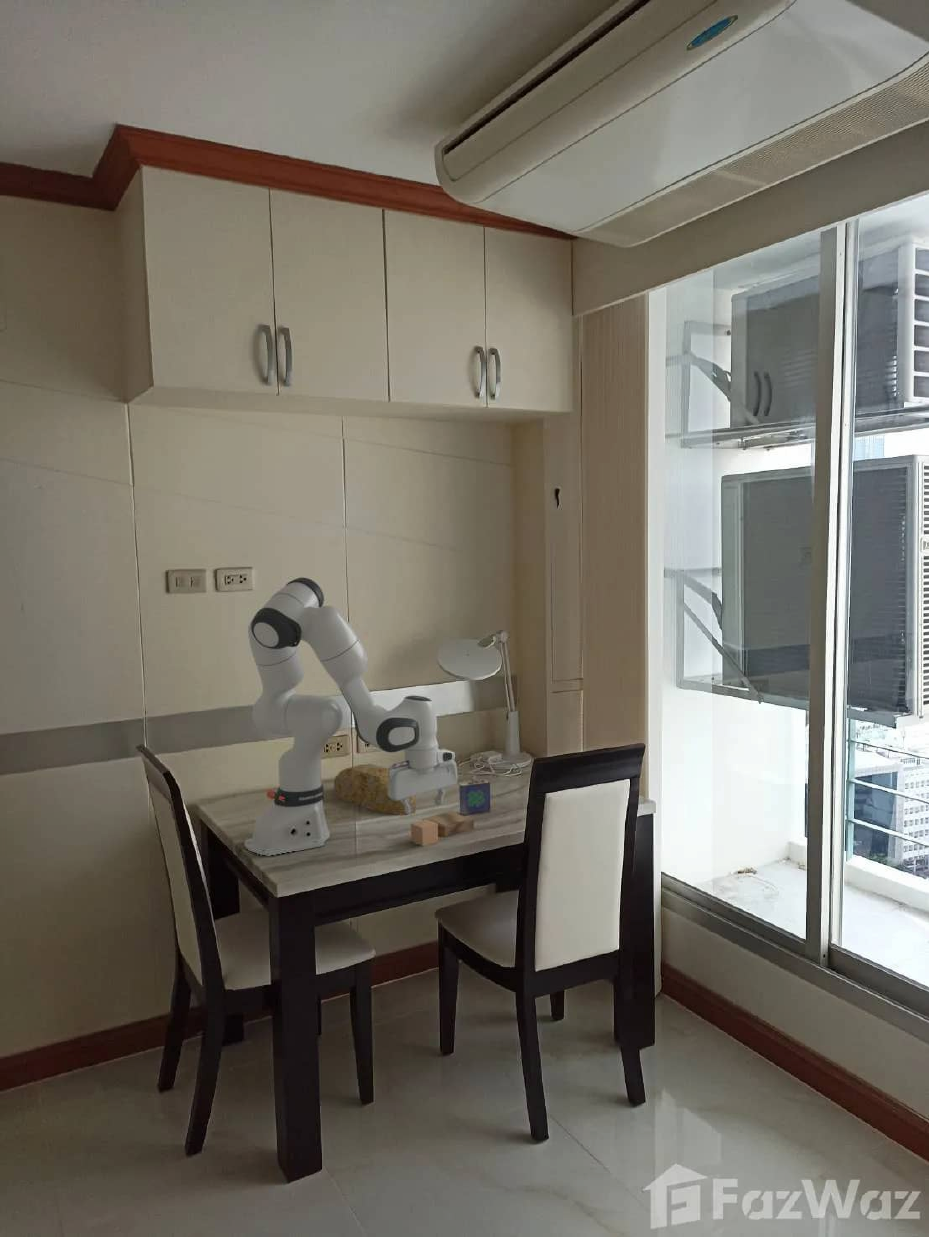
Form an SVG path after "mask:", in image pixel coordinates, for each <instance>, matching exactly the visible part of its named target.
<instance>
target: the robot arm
mask: <svg viewBox="0 0 929 1237" xmlns="http://www.w3.org/2000/svg"><path fill="white" fill-rule="evenodd" d="M324 601H325V595H324V593H323V589H322V588H321V587H320V586H319V584H318V583H316V582H315V581H314V580H313V579H310V578H307V577H298V578H295V579H293V580H290V581H289V582H287V583H286V584H285V586H284V587H281V588H280V589H279V590H278V591H276V592H275V593H274V594H273V595H272V596H271V597H270V599H269V600H268V601H267V602H266V603H265V604H264V605H263V607H262V608H261V609H259V610H258V611H257V612H256V613H255V615H254V617H253V618H252V619H251V621H250V622H249V624H248V627H247V633H248V639H249V645H250V649H251V653H252V657H253V660H254V663H255V665H256V668H257V671H258V674H259V677H260V680H261V681H260V682H261V683H262V685H261V686H262V693H261V695H260V697H258V699H257V700H256V701H255V703H254V705H253V707H252V708H253V709H252V720H253V723H254V724H255V726H256V728H258V729H259V730H261V731H264V732H267V733H270V734H273V735H283V736H292V737H293V740H294V741H293V746H292V748H290V749H288V750H286V751H285V752H283V753H282V755H281V756H280V758H279V760H278V781H279V782H278V783H279V786H278V788H277V790H276V791H273V790H271V789H269V790H267V792H266V794H265V795H266V797H267V798H268V799H271V800H273V799H274V800H273V804H271V805H270V806H269V807H268V808H267V809H266V811H264V812H263V813H262V814H261V816H260V817H258V818H257V819H256V820H255V822H254V824H253V831H252V837H250V838H247V839H245V841H244V848H245V847H246V848H245V849H246V850H247V849H248V850H247V851H249V852H251V851H252V852H251V853H253V852H255V853H257V854H256V855H258V854H260V855H259V856H262V855H266V856H265V857H272V856H271V855H274V856H277V855H276V854H280V855H282V854H281V853H285V854H287V853H286V852H290V853H293V852H292V851H295V852H298V851H299V852H300V851H303V850H309V849H314V848H319V847H323V846H325V842H326V841H327V840H328V839H329V838H330V836H331V834H330V831H329V827H328V825H327V821H326V816H325V809H324V802H325V800H324V799H325V792H324V784H323V783H322V756H323V753H324V749H325V746H326V745H327V742H328V741H329V740H330V738H332V737H333V736H334V735H336V734H337V732H338V731H339V730H340V728H341V726H342V723H343V719H344V717H343V716H344V715H343V709H342V707H341V705H340V703H339V702H338V701H337V700H336V699H333V698H329V697H325V696H323V695H317V694H312V695H311V694H300V693H298V692H297V691H296V690H295V689H296V687H297V686H298V685H300V683H301V682H302V680H303V678H304V674H305V667H304V665H303V662H302V658H301V656H300V653H299V650H298V645H300V643H301V641H303V642H305V643H307V644H308V645H309V646H310V648H312V650H313V652H314V655H315V656H316V658H317V660H318V662H320V664H321V665H322V667H323V668H324V670H325V671H326V673H327V674H328V675H329V677H330V678H331V679H332V680H333V681H334V683H335V684H336V686H338V688H339V691H340V692H341V694H342V697H344V700H345V701H346V703H347V705H348V707H349V709H350V710H351V713H352V716H353V721H354V728H355V733H356V735H357V737H358V738H359V739H360V740H361V741H362V742H364V743H365V744H368V745H372V746H373V747H375V748H376V749H377V748H378V749H379V750H381V751H383V752H387V753H398V752H400V751H403V752H404V761H401V762H397V763H394V764H392V765H391V766H390V767H389V768H388V769H389V770H388V790H387V793H388V796H389V797H390V798H391V799H393V800H396V801H398V800H400V801H401V802H402V804H403V805H404V806H405V813H407V814H409V815H411V814H410V813H413V806H411V805H409V804H408V802H407V801H409V797H413V796H415V797H417V796H420V795H424V794H427V793H430V792H431V793H432V792H434V791H438V793H437V795H436V797H434V805H436V806H441V805H443V804H444V797H445V794H446V792H447V788H448V787H453V786H455V785H456V784H457V783H458V778H459V776H458V767H457V763H456V761H455V759H456V754H455V751H452V750H449V749H447V748H442V747H439V742H438V739H437V732H438V718H437V717H438V716H437V711H436V706H435V703H434V701H433V700H431V698H429V697H426V696H422V695H421V696H420V695H408V696H405V697H404V698H403V700H402V701H401V702H400V703H399V704H398V705H396V706H395V707H394V708H392V709H390V710H387V709H385V708H384V707H382V706H380V705H379V704H377V701H375V700H374V698H373V696H372V694H371V692H370V691H369V689H368V687H367V685H366V683H365V681H364V680H363V676H362V674H363V673H364V672H365V670H366V669H367V666H368V662H369V658H368V655H367V652H366V649H365V647H364V644H363V643H362V641H361V639H360V638H359V636H358V634H357V633H356V630H355V629H354V628H353V626H352V625H351V623H350V622H349V621H348V620H347V619H346V618H345V616H344V615H343V614H342V613H341V612H340V611H339V609H338V608H336V607H335V606H331V605H324ZM323 605H324V606H323ZM413 814H414V813H413ZM255 853H254V854H255Z"/></svg>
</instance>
